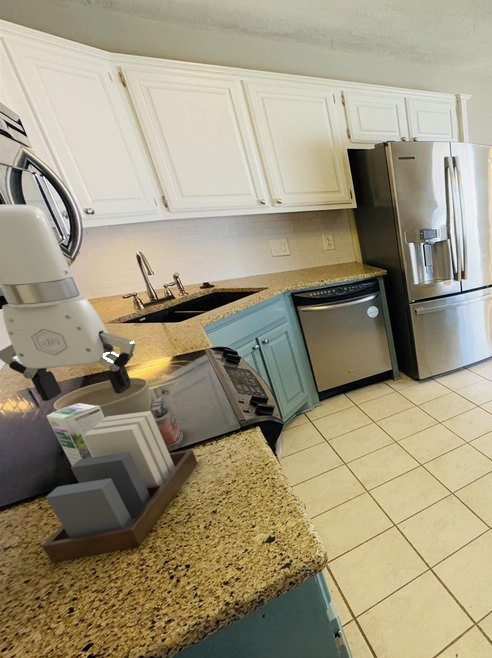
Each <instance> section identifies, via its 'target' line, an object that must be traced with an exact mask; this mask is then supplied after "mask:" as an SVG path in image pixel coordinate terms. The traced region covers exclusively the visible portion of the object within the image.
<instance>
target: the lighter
mask: <svg viewBox="0 0 492 658" xmlns="http://www.w3.org/2000/svg"><path fill="white" fill-rule="evenodd" d="M151 407H152V411H153V412H152V415H153V417H154V420H155V422H156V424H157V426H158V429H159V431H160V433H161V436H162V438H163V440H164V443H165V445H166V447H167V450H171V449H174V448H176V447H178V446H179V445H180V443H181V442H182V439H183V436H184V435H183V434H184V433H183V431H182V429H181V428H180V426H179V424H178V422H177V417H176V415H175V414H174V412H173V406H172V404H166V401H165V398H164V397H158V398H157V399H156V402H155V403H152V404H151ZM181 434H182V435H181Z"/></svg>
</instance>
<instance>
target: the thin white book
mask: <svg viewBox="0 0 492 658" xmlns="http://www.w3.org/2000/svg"><path fill="white" fill-rule="evenodd" d="M84 438H85V440H86V442H87V444H88V446H89V448H90V449H91V451H92V453H93V455H94V457H99V456H105V455H112V454H119V453H126V452H130V454H131V456H132V458H133V461H134V463H135V465H136V467H137V469H138V471H139V473H140V475H141V477H142V480H143V482H144V484H145V486H146V487H148V486H154V485H160V484H162V483H163V480H162V478H161V476H160V474H159V472H158V469H157V467H156V465H155V463H154V461H153V458H152V456H151V454H150V452H149V449H148V447H147V445H146V443H145V441H144V438H143V436H142V434H141V432H140V430H139V427H138V425H137V424H134V425H127V426H119V427H112V428H104V429H97V430H90V431H89V432H87V433H86V434H85V435H84Z"/></svg>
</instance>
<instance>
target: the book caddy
mask: <svg viewBox="0 0 492 658" xmlns="http://www.w3.org/2000/svg"><path fill="white" fill-rule="evenodd" d="M169 454H170V457H171V459H172V461H173V464H174V466H175V468H174V469H173V471H172V472H171V473H170V474H169V476H168V477H167V478H166V480H165V481H164V482H163V483H162V484H160V485H154V486H148V487H146V488H147V490H148V492H149V494H150V496H151V499H150V500H149V502H148V503H147V504H146V505H145V507H144V508H143V509H142V511H141V512H140V513H139V515H138V516H137V517H134V519H133V522H132V524H131V525H130V526H129V527H128V528H123V529H117V530H112V531H107V532H101V533H96V534H90V535H85V536H80V537H74V538H70V537H69V536H68V534H67V532H66V531H65V529H64V527H63V526H62V525H61V526H60V527H59V528H58V529H57V530H56V531H55V533H53V535H51V536H50V537H49V538H48V539H47V540H46V542H45V543H43V545H41V547H42V550H43V551H44V552H45V554H46V555H47V557H48V558H49V560H50V561H51V563H52V564H54V563H59V562H64V561H69V560H74V559H78V558H84V557H88V556H95V555H100V554H104V553H109V552H116V551H120V550H125V549H130V548H137V547H140V546H142V544H143V542H144V541H145V539H146V538H147V536H148V535H149V534H150V532H151V531H152V529H153V528H154V526H155V525H156V524H157V523H158V521H159V519H160V518H161V517H162V515H163V514H164V512H165V511H166V510H167V508H168V506H169V505H170V504H171V502H172V501H173V500H174V499H175V496H176V495H177V494H178V492H179V491H180V489H181V488H182V486H183V485H184V483H186V482H187V480H188V478H189V477H190V476H191V474H192V472H193V471H194V470H195V469H196V467H197V465H198V463H199V462H198V460H197V457H196V455H195V453H194V450H193V449H188V450H181V451H173V452H169Z"/></svg>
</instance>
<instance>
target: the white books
mask: <svg viewBox="0 0 492 658" xmlns="http://www.w3.org/2000/svg"><path fill="white" fill-rule="evenodd" d="M152 414H153V412H152V411H151V410H150V411H147V412H139V413H131V414H123V415H116V416H108V417H106V418H104V419H103V420H102V421H101V423H98V424H97V425H96V426H94V427H93V429H94V430H97V429H104V428H112V427H119V426H127V425H134V424H137V425H138V427H139V430H140V432H141V434H142V436H143V438H144V441H145V443H146V445H147V447H148V449H149V452H150V454H151V456H152V458H153V461H154V463H155V465H156V467H157V469H158V472H159V474H160V476H161V478H162V480H163V482H164V481H165V480H166V478H167V477H168V476H169V474H170V473H171V472H172V471H173V469H174V468H175V466H174V464H173V461H172V459H171V457H170V454H169V453H170V452H169V449H167V447H166V445H165V443H164V440H163V438H162V436H161V433H160V431H159V429H158V426H157V424H156V422H155V420H154V417H153V415H152Z"/></svg>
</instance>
